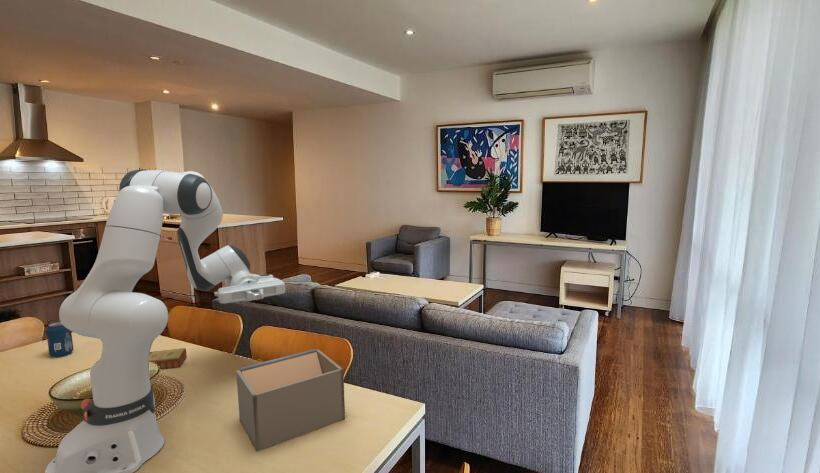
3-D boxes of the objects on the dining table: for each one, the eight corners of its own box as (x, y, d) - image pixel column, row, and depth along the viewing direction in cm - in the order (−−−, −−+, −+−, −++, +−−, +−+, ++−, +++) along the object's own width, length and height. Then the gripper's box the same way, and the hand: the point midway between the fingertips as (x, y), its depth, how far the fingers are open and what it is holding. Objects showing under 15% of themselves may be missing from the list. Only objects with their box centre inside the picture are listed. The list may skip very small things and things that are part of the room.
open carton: (256, 451, 100) (253, 396, 98) (239, 420, 113) (236, 370, 111) (345, 418, 113) (343, 369, 111) (320, 394, 126) (318, 349, 124)
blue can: (53, 352, 158) (49, 321, 156) (76, 349, 161) (72, 319, 159) (46, 360, 152) (42, 327, 150) (70, 356, 155) (66, 324, 153)
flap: (251, 420, 106) (240, 367, 111) (250, 421, 107) (240, 368, 112) (328, 395, 118) (315, 348, 123) (327, 396, 119) (314, 349, 123)
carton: (180, 368, 145) (179, 356, 144) (127, 374, 141) (126, 362, 140) (187, 358, 152) (185, 347, 152) (136, 363, 149) (135, 352, 148)
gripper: (212, 282, 134) (221, 292, 123) (276, 273, 146) (290, 281, 134) (213, 302, 135) (223, 313, 124) (277, 291, 146) (291, 300, 135)
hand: (258, 296), depth 129 cm, fingers closed
